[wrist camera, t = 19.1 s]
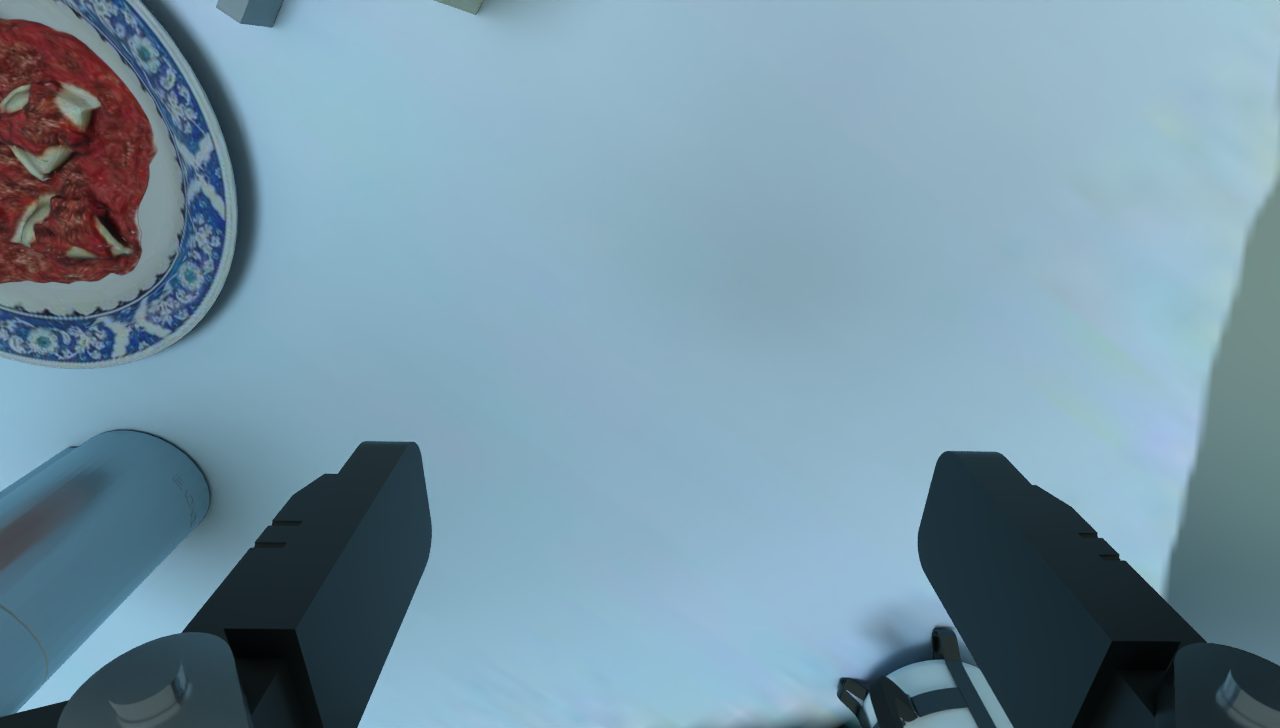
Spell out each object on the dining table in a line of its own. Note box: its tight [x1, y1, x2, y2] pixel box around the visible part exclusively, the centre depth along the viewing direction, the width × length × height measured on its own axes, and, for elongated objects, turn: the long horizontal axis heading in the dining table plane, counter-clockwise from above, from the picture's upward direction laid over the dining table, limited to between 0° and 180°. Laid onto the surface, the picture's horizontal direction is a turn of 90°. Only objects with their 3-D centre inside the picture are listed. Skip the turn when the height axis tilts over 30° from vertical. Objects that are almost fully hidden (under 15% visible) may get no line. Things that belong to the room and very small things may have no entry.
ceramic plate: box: [0, 0, 238, 369], centre depth 35 cm, size 26×26×3 cm
